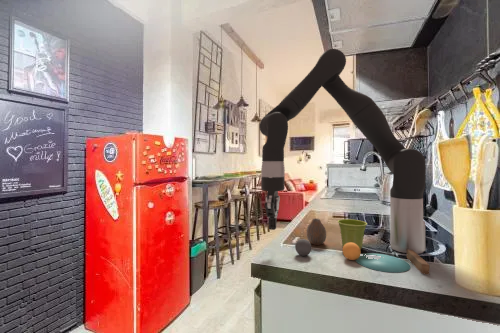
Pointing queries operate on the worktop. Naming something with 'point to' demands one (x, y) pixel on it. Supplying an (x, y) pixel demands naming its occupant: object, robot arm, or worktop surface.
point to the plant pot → (352, 231)
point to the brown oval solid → (316, 232)
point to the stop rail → (418, 262)
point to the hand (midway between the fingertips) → (272, 229)
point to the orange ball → (351, 251)
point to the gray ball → (303, 247)
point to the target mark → (384, 263)
